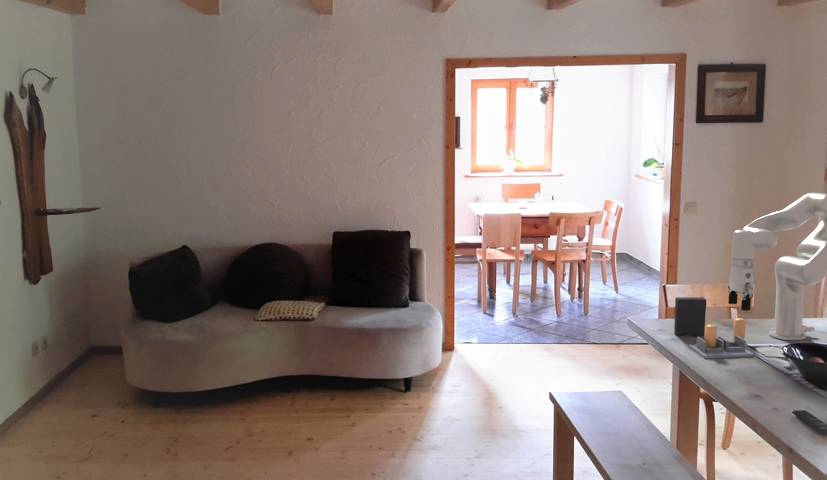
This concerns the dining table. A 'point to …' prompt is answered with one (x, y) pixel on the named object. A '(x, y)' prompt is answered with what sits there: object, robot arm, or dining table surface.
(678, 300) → the dark grey slab
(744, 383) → the dining table surface
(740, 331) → the tan capsule rod
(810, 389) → the dining table surface
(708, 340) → the housing
